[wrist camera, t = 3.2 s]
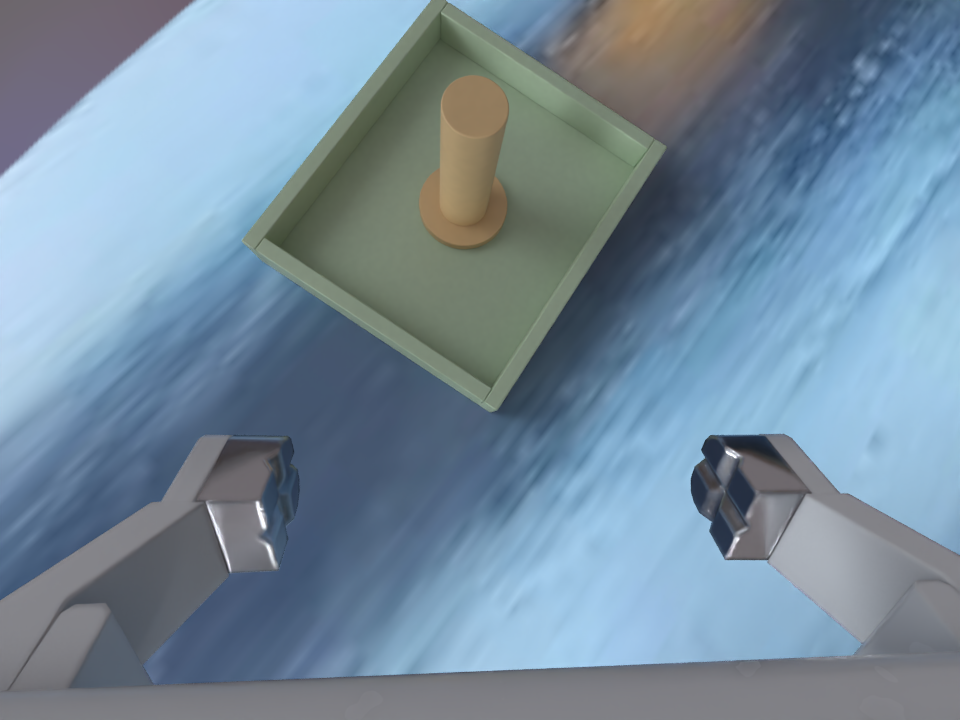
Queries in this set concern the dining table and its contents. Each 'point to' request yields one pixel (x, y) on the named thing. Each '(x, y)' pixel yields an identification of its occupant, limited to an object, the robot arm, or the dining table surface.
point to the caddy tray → (380, 198)
